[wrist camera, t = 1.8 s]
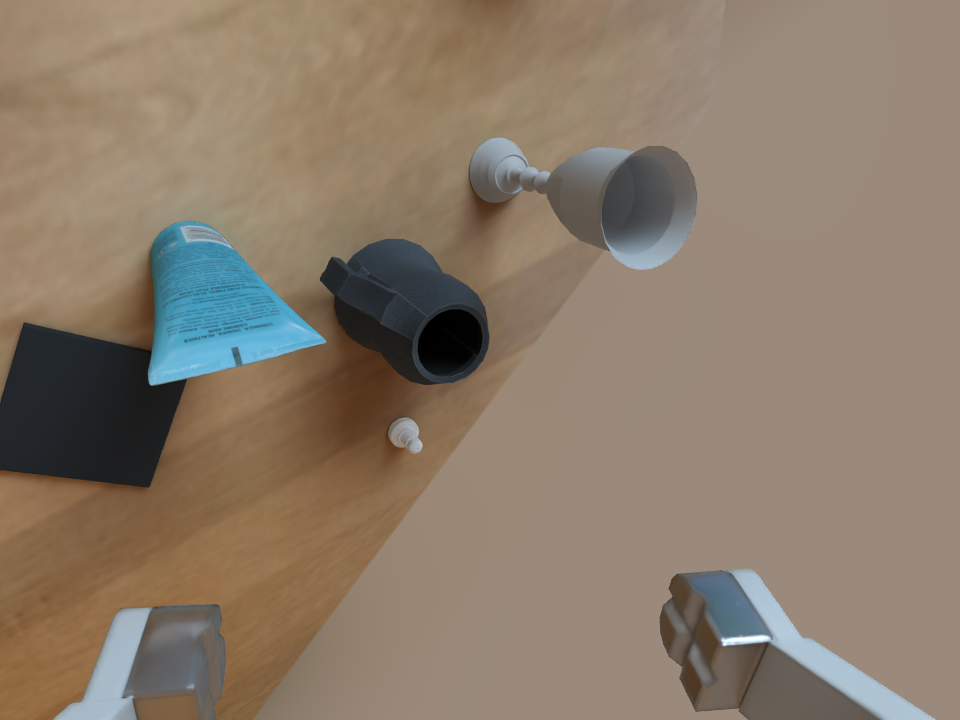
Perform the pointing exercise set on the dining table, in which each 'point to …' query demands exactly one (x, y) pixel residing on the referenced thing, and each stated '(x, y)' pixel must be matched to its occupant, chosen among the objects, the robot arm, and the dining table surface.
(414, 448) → the chess pawn
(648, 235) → the chalice
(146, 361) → the coaster
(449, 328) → the mug
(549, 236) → the dining table surface
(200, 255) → the tube
